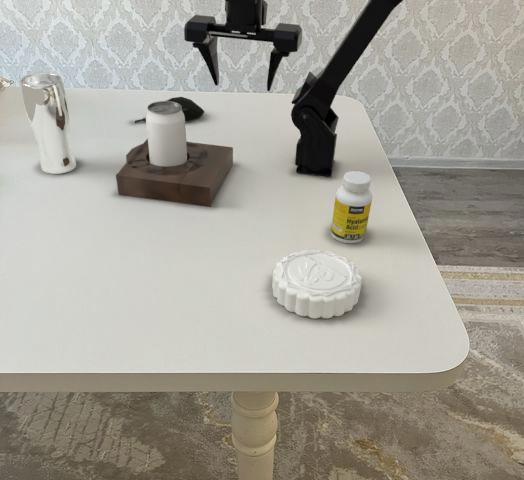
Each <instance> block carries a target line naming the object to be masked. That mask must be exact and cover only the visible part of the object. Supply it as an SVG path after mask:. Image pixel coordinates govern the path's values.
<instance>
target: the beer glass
mask: <svg viewBox="0 0 524 480" xmlns="http://www.w3.org/2000/svg"><path fill="white" fill-rule="evenodd" d="M19 84H20V90H21V96H22V103H23V108H24V112H25V115H26V118H27V121H28V123H29V126H30V129H31V131H32V133H33V135H34V138H35V140H36V143H37V146H38V149H39V156H40V157H39V158H40V169H41V170H42V171H43V172H44V173H47V174H51V175H61V174H66V173H69V172H72V171H73V170H75V169H76V168H77V162H76V159H75V157H74V154H73V150H72V147H71V139H70V138H71V137H70V136H71V135H70V111H69V109H70V108H69V103H68V98H67V94H66V91H65V86H64V83H63V78H62V76H61V75H60V74H57V73H52V72H36V73H30V74H27V75H23V76H22V77H21V78H20V80H19Z"/></svg>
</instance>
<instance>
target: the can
mask: <svg viewBox="0 0 524 480" xmlns="http://www.w3.org/2000/svg"><path fill="white" fill-rule="evenodd" d="M146 108H147V112H146V115H145V118H146V121H145V127H146V136H147V138H148V147H149V157H150V163H151V164H154V165H156V166H164V167H168V166H177V165H181V164H183V163H185V162H187V145H186V141H187V131H186V130H187V129H186V122H185V116H184V113H183V112H182V110H181V109H182V106H181V105H180V104H178V103H176V102H171V101H167V100H159V101H155V102H151V103H149V104H148V105H147V107H146Z"/></svg>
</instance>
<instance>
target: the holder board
mask: <svg viewBox="0 0 524 480" xmlns="http://www.w3.org/2000/svg"><path fill="white" fill-rule="evenodd" d="M186 145H187V162H185V163H183V164H181V165H177V166H168V167H164V166H156V165H154V164H151V163H150V157H149V147H148V137H147V138H146V139H145V140H144V141H143V143H141V144H138V145H137V146H135V147H132V148H131V149H130V150H129V151H128V152H127V154H126V155H125V164H124V165H123V166H122V168H121V169H120V170H119V171H118V172H117V173H116V174H115V179H116V186H117V191H118V192H117V193H118V195H120V196H127V197H135V198H141V199H148V200H157V201H165V202H170V203H171V202H172V203H179V204H187V205H192V206H201V207H207V208H211V207H212V205H213V203H214V201H215V199H216V197H217V196H218V195H219V192H220V190H221V188H222V187H223V185H224V183H225V181H226V179H227V177H228V175H229V173H230V172H231V170H232V168H233V167H234V147H233V146H225V145H216V144H208V143H201V142H194V141H193V142H191V141H188V140H186Z"/></svg>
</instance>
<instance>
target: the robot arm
mask: <svg viewBox="0 0 524 480" xmlns="http://www.w3.org/2000/svg"><path fill="white" fill-rule="evenodd" d="M403 1H404V0H368V1H367V2H366V4H365V6H364V7H363V8H362V10H361V12H360V13H359V15H358V16H357V17H356V19H355V21H354V22H353V23H352V25H351V27H350V28H349V30H348V32H347V33H346V34H345V36H344V37H343V39H342V41H341V42H340V43H339V45H338V46H337V48H336V49H335V51H334V53H333V54H332V56H331V57H330V59H329V60H328V62H327V63H326V65H325V66H324V68H322V70H321V71H320V72H319V73H318V74H316V75H315V74H313V72H312V71H308V72H307V73H308V74H307V75H306V78H305V80H304V83H303V84H302V85H301V86H299V87H298V88H297V89H296V92H295V93H294V96H293V98H292V100H291V104H292V105H293V107H292V108H291V112H290V117H291V118H290V119H291V122H292V124H293V125H294V127H295V128H296V129H297V130H299V134H300V137H299V138H298V139H297V143H296V145H295V146H296V148H295V160H294V165H295V166H296V169H295V173H296V174H301V175H309V176H317V177H325V178H331V177H332V175H333V171H334V168H335V164H336V160H335V154H336V149H337V148H336V147H337V139H338V134H337V133H336V130H337V126H338V122H339V116H338V114H337V113H336V112H335V111H334V109H333V108H332V107H331V106H332V104H333V103H334V100H335V97H336V95H337V93H338V91H339V89H340V88H341V86H342V84H343V82H344V81H345V80H346V78H347V77H348V75H349V74H350V73H351V71H352V69H353V68H354V67H355V65H356V64H357V63H358V61H359V59H360V58H361V57H362V55H363V54H364V52H365V51H366V49H367V48H368V47H369V45H370V43H371V42H372V41H373V39H374V37H376V35H377V34H378V32H379V31H380V29H381V28H382V26H383V25H384V24H385V22H386V20H387V19H388V18H389V16H390V15H391V13H392V12H393V11H394V10H395V9H396V7H398V6H399V5H400V4H401V3H402V2H403ZM224 3H225V4H224V13H225V23H217V20H216V17H215V16H210V15H201V14H195V15H193V16H192V17H190V19H189V20H187V21H186V22H185V24H184V28H183V34H184V35H183V36H184V41H185V42H189V43H192V48H194V49H198V51H199V53H200V55H201V57H202V59H203V61H204V63H205V65H206V66H207V69H208V72H209V74H210V76H211V78H212V81H213V83H214V86H219V84H220V69H219V58H218V41H219V40H218V39H219V38H226V39H237V40H246V41H255V42H256V41H257V42H267V43H272V46H273V48H272V49H271V51H270V56H269V63H268V72H267V81H266V90H267V92H271V89H272V87H273V83H274V80H275V78H276V75H277V72H278V69H279V67H280V65H281V62H282V60H283V58H288V57H289V56H290V55H291V53H297V52H298V50H299V49H300V47H301V44H302V41H303V28H302V27H301V25H300V24H295V23H285V22H278V24H277V26H276V27H275V28H266V27H264V25H266V24H267V14H268V5H269V4H268V2H267V1H266V0H224ZM262 26H263V27H262Z"/></svg>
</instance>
